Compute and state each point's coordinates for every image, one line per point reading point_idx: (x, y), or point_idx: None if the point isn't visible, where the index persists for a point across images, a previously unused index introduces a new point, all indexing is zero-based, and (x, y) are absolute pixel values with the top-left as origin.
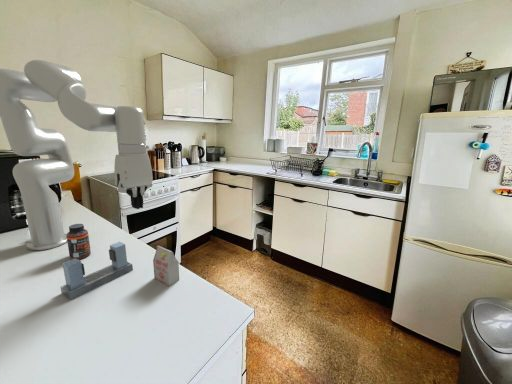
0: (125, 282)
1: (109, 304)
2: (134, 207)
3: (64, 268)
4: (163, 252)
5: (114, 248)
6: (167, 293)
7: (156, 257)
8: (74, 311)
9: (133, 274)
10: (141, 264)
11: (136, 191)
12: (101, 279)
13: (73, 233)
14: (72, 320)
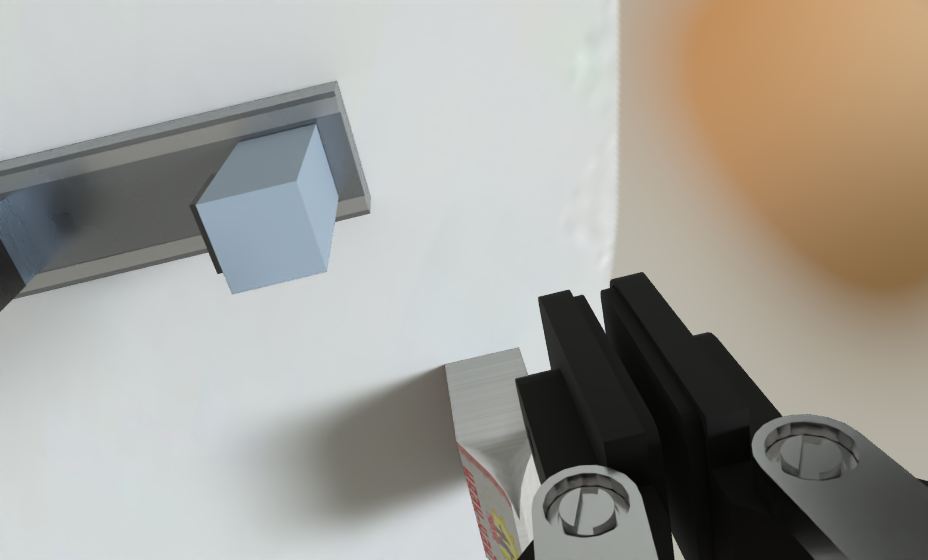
0: (290, 306)
1: (178, 436)
2: (549, 358)
3: None
4: (514, 547)
5: (228, 277)
6: (436, 511)
7: (475, 475)
8: (16, 391)
9: (356, 251)
10: (446, 159)
11: (784, 511)
12: (149, 263)
13: None
14: (13, 446)
